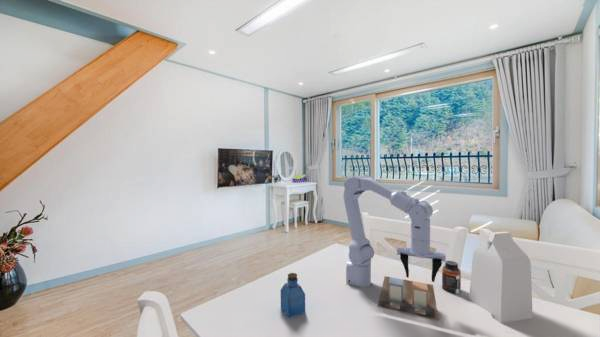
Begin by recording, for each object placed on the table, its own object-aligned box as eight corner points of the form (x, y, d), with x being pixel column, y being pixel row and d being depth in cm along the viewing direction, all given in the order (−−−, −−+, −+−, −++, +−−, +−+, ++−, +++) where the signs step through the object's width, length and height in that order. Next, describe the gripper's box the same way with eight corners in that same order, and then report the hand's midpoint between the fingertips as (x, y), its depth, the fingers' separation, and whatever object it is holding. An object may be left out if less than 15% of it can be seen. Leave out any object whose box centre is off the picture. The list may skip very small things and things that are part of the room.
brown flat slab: (377, 308, 83) (377, 300, 83) (384, 278, 104) (384, 271, 104) (438, 323, 76) (438, 313, 76) (432, 287, 97) (433, 279, 96)
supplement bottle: (463, 297, 90) (463, 266, 89) (445, 295, 91) (445, 265, 90) (456, 288, 95) (456, 259, 95) (439, 287, 97) (440, 258, 96)
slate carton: (389, 295, 89) (389, 277, 89) (403, 298, 87) (403, 279, 87) (388, 302, 85) (388, 283, 85) (402, 306, 83) (402, 285, 83)
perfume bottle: (288, 317, 79) (287, 281, 79) (280, 307, 85) (280, 273, 84) (305, 312, 82) (304, 276, 82) (296, 302, 88) (296, 269, 87)
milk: (497, 298, 89) (499, 226, 88) (532, 318, 78) (535, 236, 77) (468, 301, 87) (470, 228, 86) (500, 323, 76) (502, 239, 74)
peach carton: (412, 300, 86) (412, 281, 86) (426, 303, 84) (427, 283, 84) (412, 308, 82) (412, 287, 82) (427, 311, 80) (427, 290, 80)
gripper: (396, 239, 82) (396, 279, 82) (446, 245, 76) (446, 288, 76) (397, 233, 88) (397, 270, 89) (444, 238, 82) (443, 278, 83)
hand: (420, 278), depth 83 cm, fingers open, 7 cm apart
